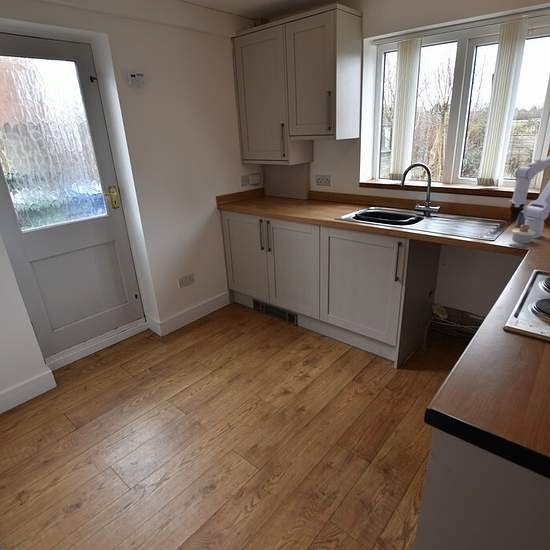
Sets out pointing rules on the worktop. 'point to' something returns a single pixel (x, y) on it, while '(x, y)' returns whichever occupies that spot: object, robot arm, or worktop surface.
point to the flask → (520, 219)
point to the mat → (518, 246)
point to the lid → (523, 230)
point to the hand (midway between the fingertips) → (514, 219)
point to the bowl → (522, 238)
